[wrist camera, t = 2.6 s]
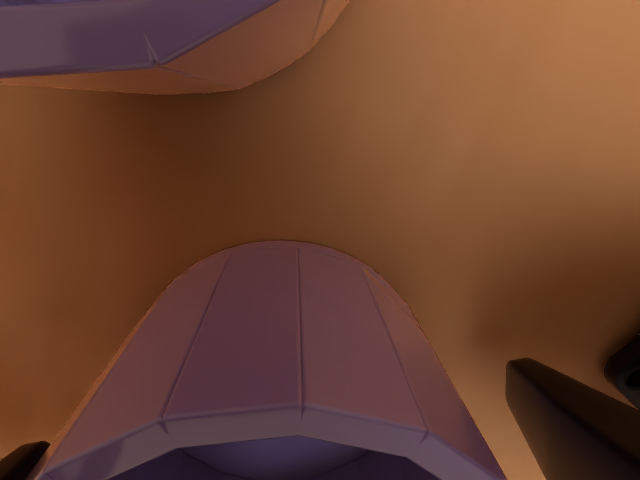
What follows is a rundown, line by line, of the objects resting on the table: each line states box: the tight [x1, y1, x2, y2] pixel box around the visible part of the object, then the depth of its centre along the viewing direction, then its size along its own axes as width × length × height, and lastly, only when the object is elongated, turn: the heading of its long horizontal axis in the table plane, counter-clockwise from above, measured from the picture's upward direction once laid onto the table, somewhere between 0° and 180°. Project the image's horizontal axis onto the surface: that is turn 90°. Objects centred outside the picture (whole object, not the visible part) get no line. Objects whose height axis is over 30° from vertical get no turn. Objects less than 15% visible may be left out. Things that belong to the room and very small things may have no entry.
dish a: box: [26, 240, 507, 480], centre depth 7 cm, size 6×6×4 cm
